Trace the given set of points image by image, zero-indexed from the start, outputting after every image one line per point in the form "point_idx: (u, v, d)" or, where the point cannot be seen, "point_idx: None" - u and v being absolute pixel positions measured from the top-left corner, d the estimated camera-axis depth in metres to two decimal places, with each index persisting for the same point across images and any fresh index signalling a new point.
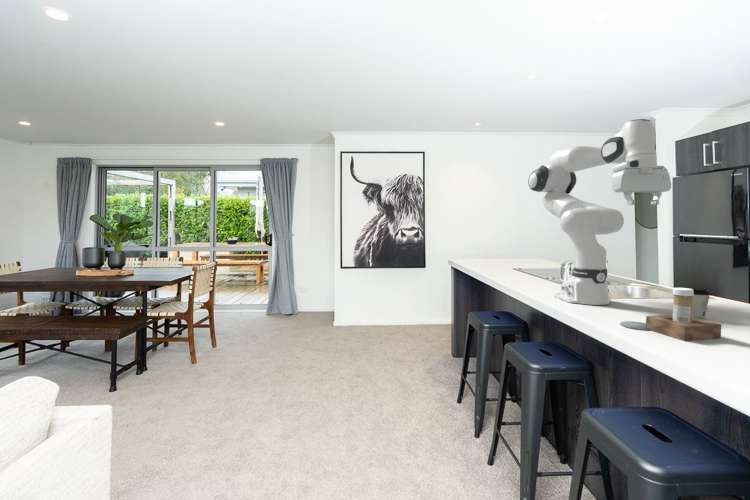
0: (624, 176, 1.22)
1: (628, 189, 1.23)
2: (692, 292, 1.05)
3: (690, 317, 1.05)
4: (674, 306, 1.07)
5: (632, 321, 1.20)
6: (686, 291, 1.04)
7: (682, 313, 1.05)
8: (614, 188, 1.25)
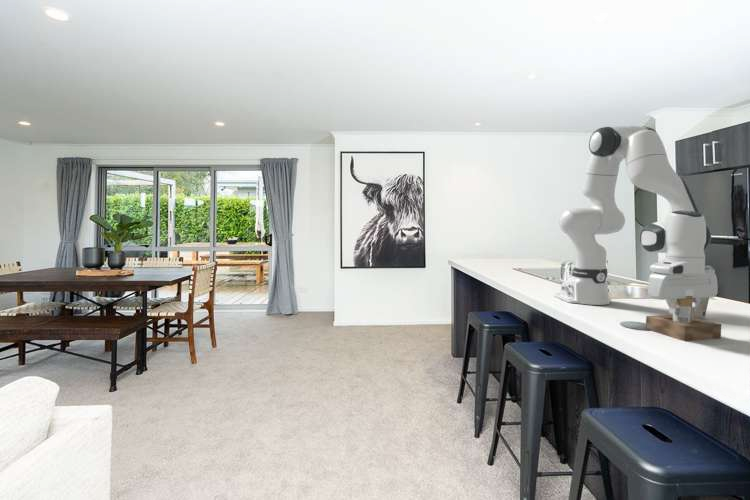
0: (664, 283, 1.03)
1: (667, 298, 1.04)
2: (692, 292, 1.05)
3: (690, 317, 1.05)
4: None
5: (632, 321, 1.20)
6: (686, 291, 1.04)
7: (682, 313, 1.05)
8: (651, 294, 1.06)
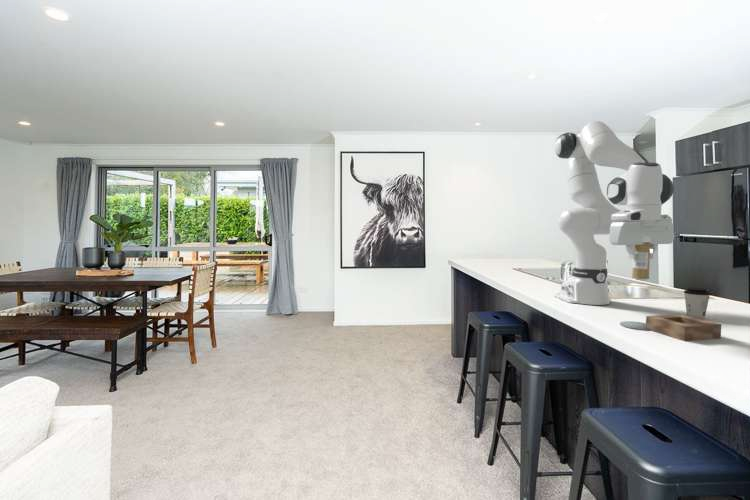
0: (623, 229, 1.09)
1: (626, 243, 1.11)
2: (649, 238, 1.11)
3: (647, 262, 1.12)
4: None
5: (632, 321, 1.20)
6: (644, 237, 1.11)
7: (640, 258, 1.12)
8: (611, 241, 1.13)
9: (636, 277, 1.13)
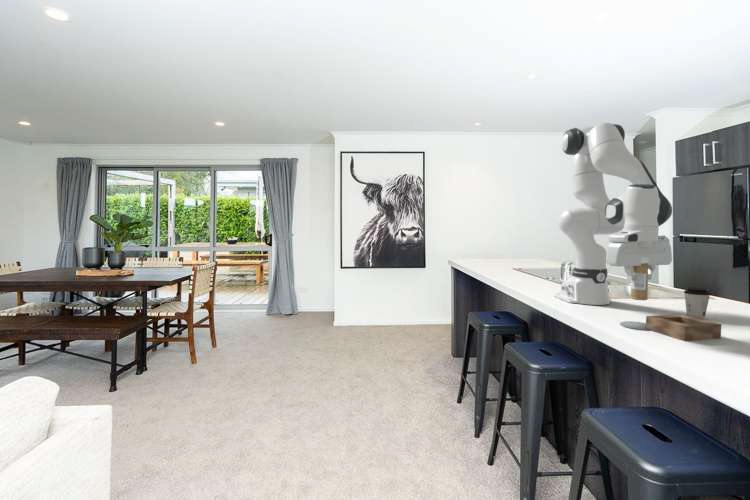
0: (620, 251, 1.10)
1: (624, 265, 1.11)
2: (647, 260, 1.12)
3: (646, 283, 1.12)
4: None
5: (632, 321, 1.20)
6: (642, 259, 1.12)
7: (638, 279, 1.12)
8: (609, 262, 1.13)
9: (635, 298, 1.14)
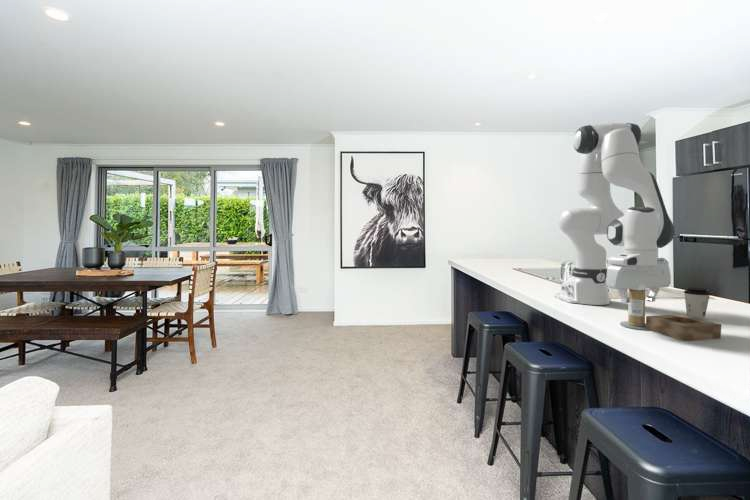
0: (619, 274, 1.10)
1: (623, 288, 1.12)
2: (644, 286, 1.12)
3: (643, 309, 1.13)
4: None
5: None
6: (639, 285, 1.12)
7: (635, 306, 1.13)
8: (608, 284, 1.14)
9: (632, 324, 1.14)
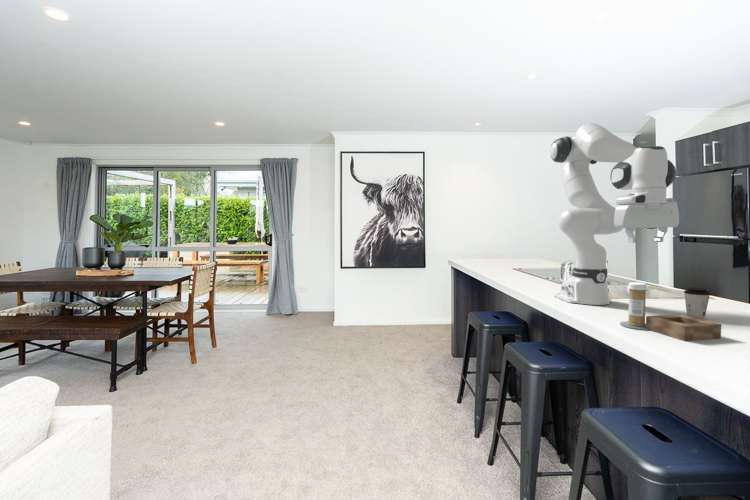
0: (627, 212, 1.10)
1: (631, 226, 1.12)
2: (645, 286, 1.13)
3: (643, 310, 1.13)
4: (629, 300, 1.15)
5: None
6: (639, 285, 1.12)
7: (636, 306, 1.13)
8: (616, 224, 1.14)
9: (632, 324, 1.14)
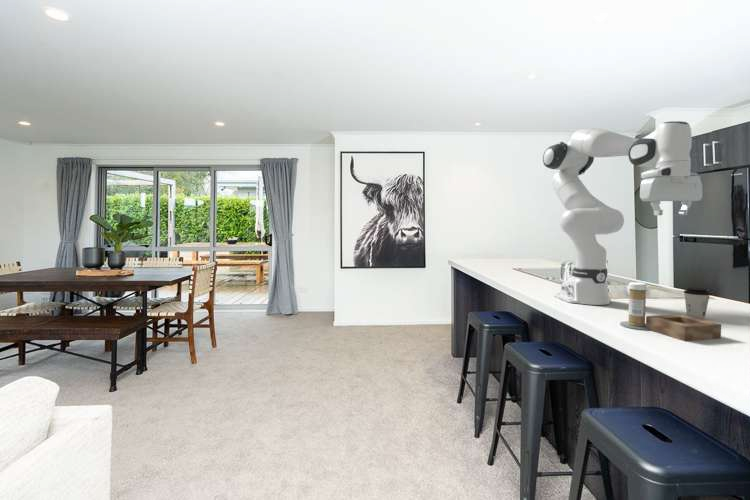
0: (654, 185, 1.14)
1: (657, 199, 1.15)
2: (645, 286, 1.12)
3: (643, 310, 1.13)
4: (629, 300, 1.15)
5: None
6: (639, 285, 1.12)
7: (636, 306, 1.13)
8: (642, 197, 1.17)
9: (632, 324, 1.14)
